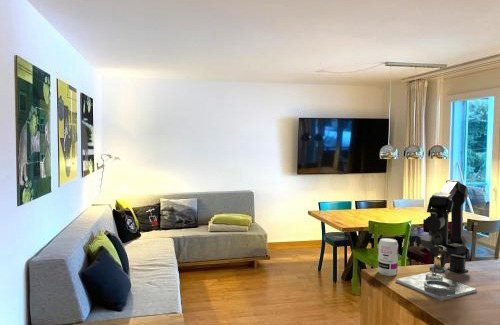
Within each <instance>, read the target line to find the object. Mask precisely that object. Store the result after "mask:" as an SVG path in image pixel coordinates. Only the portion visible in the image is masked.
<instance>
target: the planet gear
mask: <svg viewBox="0 0 500 325" xmlns="http://www.w3.org/2000/svg"><path fill="white" fill-rule="evenodd" d="M448 268H449V267H446V265H445V266H444V267H441V254H440V255H439V254H438V255H435V256H434V264H430V266H429V271H430V272H431V273H432V272H433V273H437V274H440V275H442V274H444V275H447V274H448V271H449V270H448Z"/></svg>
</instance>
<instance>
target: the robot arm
mask: <svg viewBox="0 0 500 325" xmlns="http://www.w3.org/2000/svg"><path fill="white" fill-rule="evenodd" d="M468 196H469V189H468V186H467V185H465V184H463V183H461V181H460V180H458V179H457V180H455V179H448V180H446V181H445V185H444V186H443V187H442V188H441V190H440V191H439V192H434V193H433V194H432V195H431V196H430V197H429V201H428V205H427V209H426V213H427V214H428V213H430V214H429V216H427V217H426V218H425V220H424V226H425V228H426V230H428V233H427V234H424V235H417V236H416V237H415V244H417V245H421V246H422V247H423V248H425V249H427V251H428V253H429V254H430V258H431V261H432V265H434V256H435V255H439V253H440V256H441V267H444V266H445V267H446V265H447V263H448V261H449V267H447V268H448V271H452V272H454V273H457V274H461V273H465V272H469V270H468V269H466V261H467V260H470V259H471V253H470V249H469V246H468V241H467V240H466V238H465V237H464V233H463V231H464V230H463V229H464V221H463V220H464V218H463V217H464V215H463V213H464V211H463V209H464V208H463V207H464V206H463V205H464V203H465V202H466V201H467V198H468ZM450 214H451V215H450ZM449 215H450V216H451V219H450V220H451V221H450V222H451V223H450V224H451V229H449ZM449 233H451V236H450V238H449V239H448V237H449ZM440 248H442V250H440Z"/></svg>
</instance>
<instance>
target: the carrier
mask: <svg viewBox="0 0 500 325" xmlns="http://www.w3.org/2000/svg"><path fill="white" fill-rule="evenodd" d="M395 282H396V283H397V284H400V285H403V286H405V287H408V288H409V289H412V290H414V291H418V292H420V293H422V294H424V295H427V296H429V297H431V298H433V299H436V300H438V301H440V302H444V301H446V300H451V299H454V298H455V299H456V298H458V297H459V298H460V297H462V296H466V295H470V294H474V293H477V290H478V289H477V288H475V287H472V286H469V285H466V284H463V283H461V282H458V281H455V280H452V279H450V278H446V277H444V276H443V275H442V274H438V273H433V272H432V271H430V272H429V271H428V272H424V273H418V274H414V275H408V276H405V277H404V276H403V277H399V278H396V279H395Z"/></svg>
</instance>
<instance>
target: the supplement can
mask: <svg viewBox="0 0 500 325" xmlns="http://www.w3.org/2000/svg"><path fill="white" fill-rule="evenodd" d="M377 252H378V253H377V254H378V255H377V257H378V258H377V261H378V262H377V271H378V273H379V275H382V276H386V277H387V276H388V277H393V276H396V275H397V274H398V267H399V266H398V263H399V260H398V259H399V243H398V240H396V239H395V238H388V237H387V238H386V237H385V238H380V239H379V242H378V251H377Z"/></svg>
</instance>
